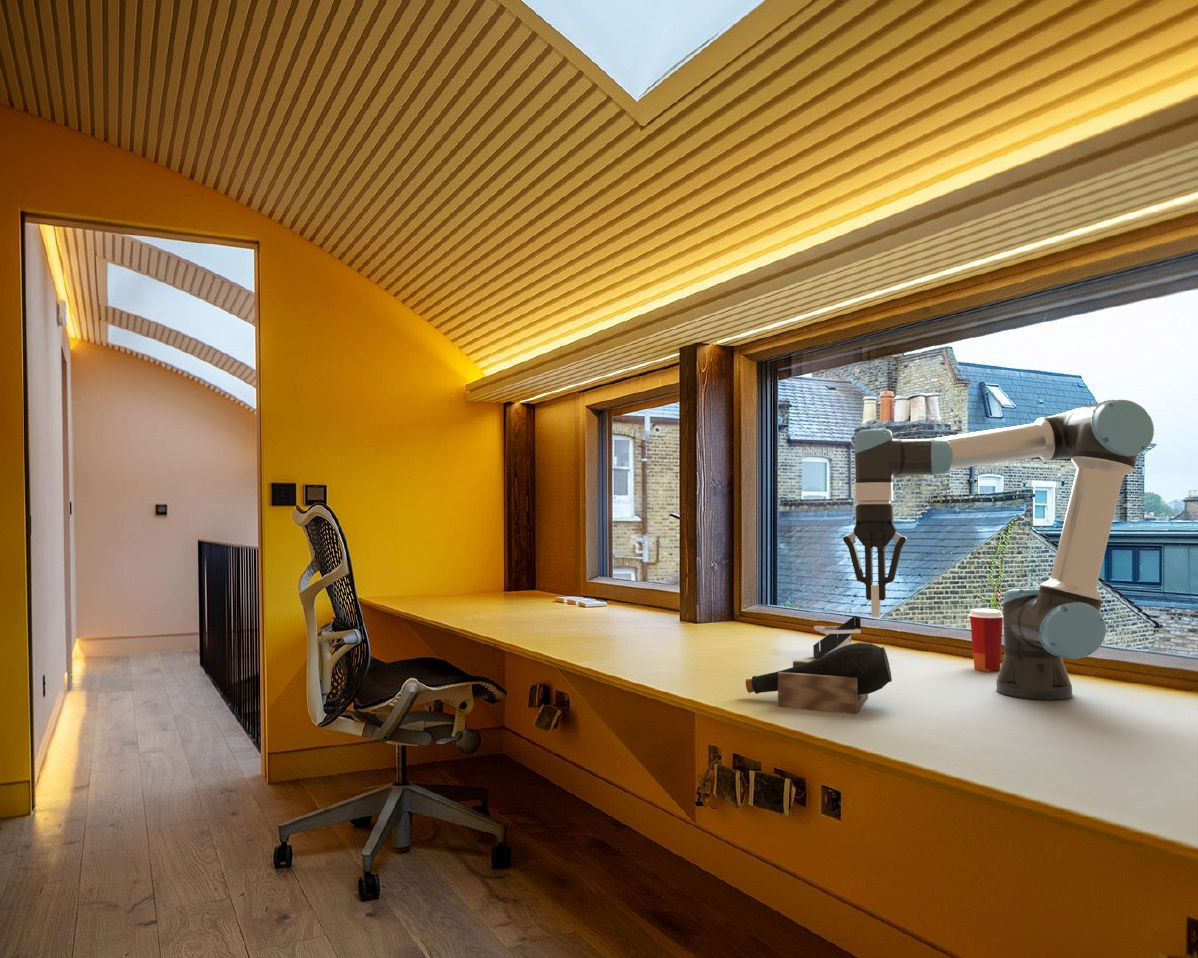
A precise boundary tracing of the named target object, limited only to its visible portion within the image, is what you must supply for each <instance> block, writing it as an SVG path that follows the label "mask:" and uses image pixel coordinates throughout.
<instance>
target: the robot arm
mask: <svg viewBox="0 0 1198 958" xmlns="http://www.w3.org/2000/svg"><path fill="white" fill-rule="evenodd" d="M1154 428H1155V426H1154V422H1153V420H1152V417H1151V416H1150V414H1148V412H1147V411H1146V409H1145V408H1144V407H1143V406H1142V405H1140V404H1138V403H1137V402H1134V401H1132V400H1127V399H1108V400H1104V401H1102V402H1098V403H1093V404H1090V405H1089V404H1088V405H1084V406H1080V407H1077V408H1074V409H1071V410H1068V411H1065V412H1062V413H1057V414H1054V415H1050V416H1049V415H1048V416H1044V417H1038V418H1036V420H1035V421H1034V422H1033V423H1029V424H1021V425H1015V426H1010V427H1002V428H994V429H987V430H979V431H975V432H968V433H961V434H955V435H954V434H953V435H947V436H941V437H940V436H939V437H934V438H933V437H932V438H910V439H909V438H907V439H900V438H898V439H897V438H894V437H893V433H892V431H891V430H889V429H878V428H877V429H875V428H874V429H863V430H860V431H858V432H857V433H856V434H855V438H854V439H855V440H854V451H853V454H854V466H855V467H854V468H855V470H854V471H855V472H854V473H855V484H854V485H855V487H854V489H855V493H854V494H855V501H856V502H857V503H858V504H856V506H855V526H854V528H853V532H851V533H850V534H848V535H844V536H843V539H842V541H843V542H844V543H845V545H846V546H847V548H848V552H849V556H850V559H851V563H852V568H853V571H854V575H855V578H856V581H857V582H860V583H863V584H864V586H865V599H866V600H867V601H871V602H870V603H871V606H870V607H871V611H870V612H871V617H873V618H874V617H875V618H879V617H881V615H882V613H881V601H885V599H886V596H887V595H886V592H887V591H886V585H887V584H889V583H893V582H894V581H895V579H896V574H897V570H898V566H899V562H900V559H901V553H902V549H903V547H904V545H905V544H906V542H907V541H908V537H906V536H905V535H902V534H900V533H899V532H897V529H896V527H895V525H894V505H893V504H891V502H893V501H894V490H893V489H894V487H893V486H894V484H893V482H894V479H893V477H894V478H904V477H912V476H922V475H923V476H927V475H928V476H936V475H946V474H947V473H949V472H950V471H951V470H957V469H964V468H972V467H977V466H984V465H992V464H999V463H1006V462H1014V461H1020V460H1026V459H1035V458H1039V459H1041V460H1042V461H1050V460H1051V461H1052V460H1061V459H1062V460H1065V459H1067V460H1068V459H1070V460H1071V462H1072V464H1073V465H1074V466H1075V467H1076V472H1075V474H1074V475H1075V477H1074V479H1073V484H1072V488H1071V493H1070V496H1069V501H1068V504H1067V510H1066V512H1065V513H1066V514H1065V516H1064V517H1065V518H1064V522H1063V526H1062V530H1061V534H1060V538H1059V541H1058V546H1057V549H1056V555H1055V559H1054V563H1053V567H1052V571H1051V575H1050V578H1049V579H1048V580H1046V581H1044V582H1043V583H1040V585H1039V588H1023V589H1021V588H1020V589H1019V588H1018V589H1008V590H1006V591H1005V592H1004V593H1003V601H1002V606H1001V607H1002V615H1003V621H1002V622H1003V648H1004V652H1003V653H1004V654H1003V660H1002V661H1001V665H1000V671H998V675H997V677H996V681H995V683H996V691H997V693H1001V694H1003V695H1006V696H1010V697H1015V698H1022V699H1029V700H1042V701H1043V700H1045V701H1046V700H1049V701H1051V700H1054V701H1056V700H1064V699H1069V698H1072V697H1073V686H1072V685H1073V684H1072V682H1071V679H1070V676H1069V674H1068V671H1067V667H1066V665H1065V663H1064V660H1063V659H1071V660H1077V659H1083V658H1086V657H1089V656H1090V655H1092V654H1093V653H1095V652H1096V651H1097V650H1099V648H1100V647H1101V646H1102V644H1103V642H1104V640H1105V638H1106V633H1107V625H1106V621H1105V619H1104V617H1103V616H1102V614H1101V613H1100V612H1101V607H1102V602H1103V597H1102V596H1101V595H1100V593H1099V592H1098V591H1097V590H1098V589H1097V587H1098V583H1099V578H1100V576H1101V575H1100V574H1101V570H1102V566H1103V562H1104V557H1105V554H1106V549H1107V545H1108V541H1109V538H1110V532H1111V528H1112V524H1113V521H1114V517H1115V512H1116V508H1117V503H1118V500H1119V496H1120V492H1121V488H1122V483H1123V480H1124V477H1125V476H1127V475H1128V474H1130V473H1132V472H1133V471H1134V470H1135V466H1136V462H1137V459H1138V455H1139V454H1141V453H1143V452H1144V451H1145V450H1147V449H1148V448H1149V446H1150V445H1151V443H1152V441H1153V438H1154V435H1155V434H1154V433H1155V429H1154ZM856 538H857V539H856ZM893 538H894V541H893V543H894V544H895V546H894V548H893V553H892V557H891V561H890V565H889V571H888V574H887V576H886V546H888V544H889V543H890V542H891V541H892V539H893ZM857 540H858V541H859V542H860V543H861V544H862V546H863V547H864V571H865V572H864V571H863V568H862V565H861V562H860V557H859V554H858V550H857V547H856V544H855V543H856V542H857ZM874 548H877V549H876V551H877V577H878V578H877V580H878V581H877V583H876V584H875V583H874V573H873V572H874V571H873V570H874V569H873V568H874V566H873V565H874V564H873V556H874V555H873V553H874V552H873V551H874ZM863 572H864V573H863Z"/></svg>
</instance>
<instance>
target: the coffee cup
mask: <svg viewBox="0 0 1198 958" xmlns="http://www.w3.org/2000/svg"><path fill="white" fill-rule="evenodd" d="M967 616H969V619H970V620H969V621H970V631H971V633H970V634H971V644H972V656H973V658H972V659H973V665H974V666H973V667H974V670H976V671H979V672H986V673H987V672H989V673H991V672H992V673H995V672H999V671H1000V668H1001V665H1002V661H1001V660H1002V645H1003V644H1002V641H1003V639H1002V638H1003V622H1004V621H1003V610H1000V609H995V608H973V609H972V608H971V609H970V611H969V614H967Z"/></svg>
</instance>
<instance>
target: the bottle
mask: <svg viewBox="0 0 1198 958" xmlns="http://www.w3.org/2000/svg"><path fill="white" fill-rule="evenodd" d="M889 662H890V661H889V658H888V654H887V651H886V648H885V647H884V646H879V645H876V644H873V643H867V642H854V643H851V644H849V645H845V646H843V647H840V648H838V649H836V650H834V651H832V652H830V653H829V654H827V655H825V656H823V657H821V658H820V657H818V658H815V659H813V660H811V661H808V663H805V664H802V665H799V666H795V667H793V666H792V667H789V668H786V669H782V670H781V669H780V670H778V671H774V672H770V673H769V672H768V673H765V674H760V675H753V676H752V677H751V678H746V679H745V688H746V691H747V693H748V694H751V693H753V692H754V694H760V693H770V692H778V673H779V672H788V673H802V674H816V675H829V676H843V677H856V678H857V682H858V695H862V694H868V695H869V694H872V693H876V692H877V691H879V690H881V689H883V688H884V687H885V686H886V685H887V684H888V683H891V682H893V679H892V671H891V668H890V663H889Z"/></svg>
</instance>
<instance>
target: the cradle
mask: <svg viewBox="0 0 1198 958" xmlns="http://www.w3.org/2000/svg"><path fill="white" fill-rule="evenodd" d="M808 662H809V661H806V660H793V661H792V667H795V666H799V665H802V664H805V663H808ZM868 698H869V694H862V695H858V682H857V678H856V677H843V676H829V675H816V674H802V673H788V672H779V673H778V691H777V704H778V705H777V707H778V708H789V709H790V708H791V709H799V710H810V711H811V710H812V711H821V710H824V711H823V712H832V711H836V712H835V713H843V712H845V713H844V714H855V715H856V714H858V713H859V712H860V710H861V708H863V706H864V704H865V703H866V701H867V700H868Z"/></svg>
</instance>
